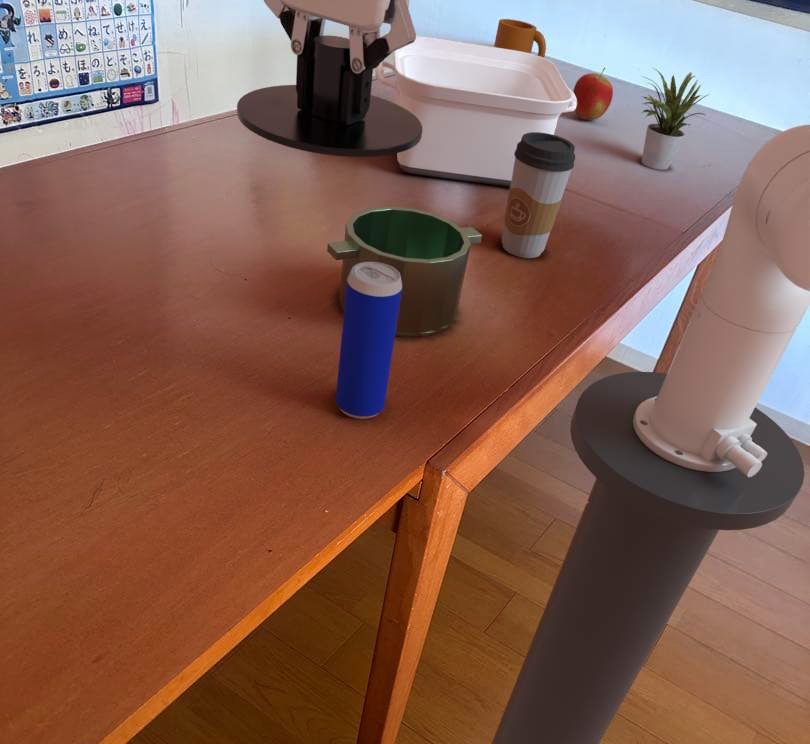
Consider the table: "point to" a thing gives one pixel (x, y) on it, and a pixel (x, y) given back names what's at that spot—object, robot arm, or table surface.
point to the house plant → (667, 123)
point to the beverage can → (367, 338)
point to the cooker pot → (411, 262)
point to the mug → (519, 36)
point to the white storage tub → (473, 106)
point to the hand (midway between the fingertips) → (331, 111)
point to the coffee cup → (536, 192)
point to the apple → (592, 96)
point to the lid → (328, 112)
